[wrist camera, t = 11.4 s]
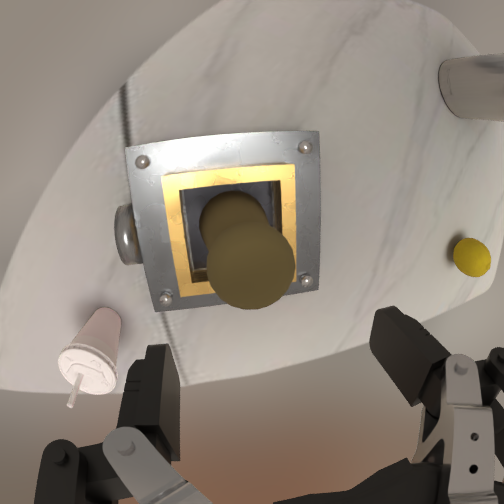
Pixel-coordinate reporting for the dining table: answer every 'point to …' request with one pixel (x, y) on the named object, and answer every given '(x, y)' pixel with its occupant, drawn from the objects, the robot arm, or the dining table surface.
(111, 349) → the smoothie
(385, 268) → the dining table surface
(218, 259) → the olive pestle shaped cylinder
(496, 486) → the robot arm
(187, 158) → the square socket fixture
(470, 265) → the lemon
